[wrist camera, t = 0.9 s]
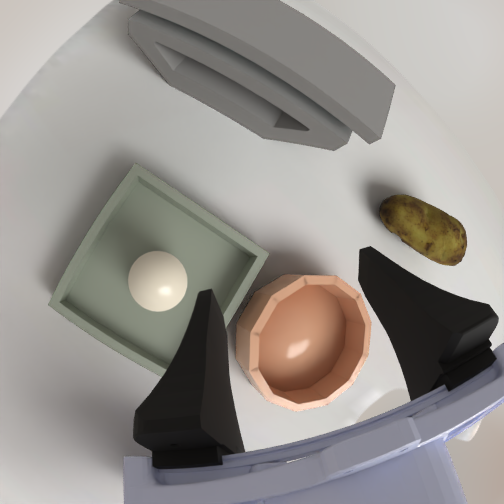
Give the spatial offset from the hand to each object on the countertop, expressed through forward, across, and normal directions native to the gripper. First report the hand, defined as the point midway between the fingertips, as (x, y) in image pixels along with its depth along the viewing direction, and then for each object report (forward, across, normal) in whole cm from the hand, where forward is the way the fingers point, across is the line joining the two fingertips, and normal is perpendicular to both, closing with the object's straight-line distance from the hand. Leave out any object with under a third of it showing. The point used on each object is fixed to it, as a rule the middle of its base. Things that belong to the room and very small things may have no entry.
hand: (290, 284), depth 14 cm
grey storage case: (+24, -1, -7) cm, 25 cm away
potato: (+17, -19, +14) cm, 29 cm away
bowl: (+8, -1, +16) cm, 18 cm away
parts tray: (+10, +10, +6) cm, 15 cm away
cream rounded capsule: (+10, +10, +5) cm, 15 cm away
